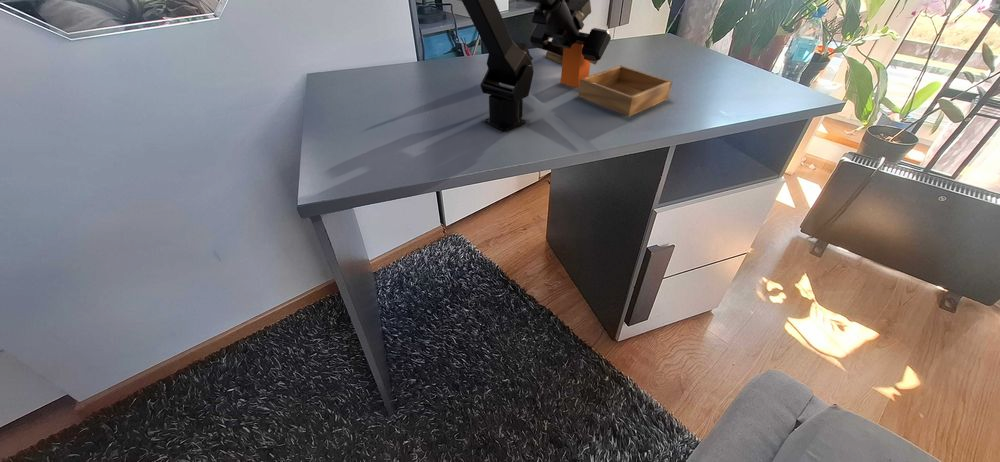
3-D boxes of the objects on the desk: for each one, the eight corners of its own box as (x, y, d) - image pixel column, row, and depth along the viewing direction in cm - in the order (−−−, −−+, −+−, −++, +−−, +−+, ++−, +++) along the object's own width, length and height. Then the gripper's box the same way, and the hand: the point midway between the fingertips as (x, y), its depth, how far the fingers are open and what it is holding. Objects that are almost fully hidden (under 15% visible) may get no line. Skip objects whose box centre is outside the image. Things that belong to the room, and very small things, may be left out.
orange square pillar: (576, 90, 102) (582, 43, 95) (560, 85, 105) (564, 39, 97) (587, 84, 105) (593, 38, 98) (571, 80, 107) (575, 35, 100)
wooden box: (627, 119, 89) (632, 98, 86) (577, 99, 98) (580, 78, 95) (667, 102, 96) (672, 81, 93) (617, 84, 105) (620, 65, 102)
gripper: (614, -12, 83) (629, 35, 96) (539, -21, 92) (563, 23, 106) (588, 39, 83) (607, 78, 97) (516, 24, 93) (543, 62, 106)
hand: (579, 58), depth 101 cm, fingers open, 9 cm apart
